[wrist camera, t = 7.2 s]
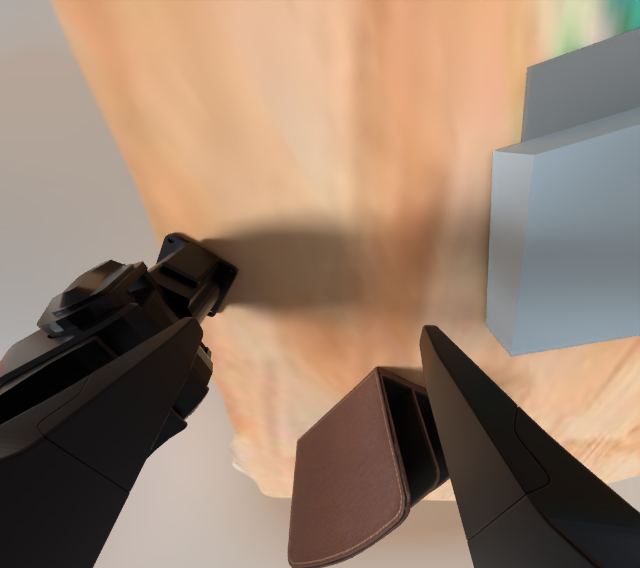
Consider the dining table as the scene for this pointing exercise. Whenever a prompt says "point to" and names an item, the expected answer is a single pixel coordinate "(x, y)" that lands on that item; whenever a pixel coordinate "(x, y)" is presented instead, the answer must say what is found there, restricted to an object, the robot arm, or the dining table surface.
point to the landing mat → (582, 86)
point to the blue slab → (566, 237)
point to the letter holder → (363, 470)
